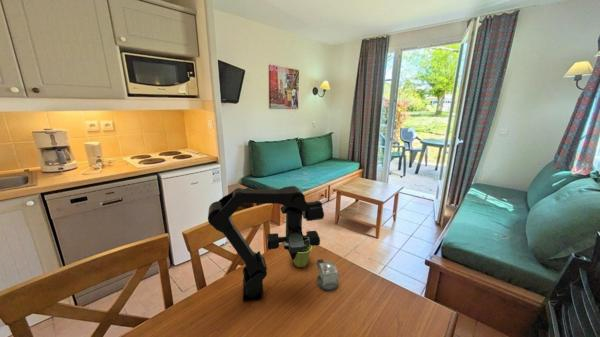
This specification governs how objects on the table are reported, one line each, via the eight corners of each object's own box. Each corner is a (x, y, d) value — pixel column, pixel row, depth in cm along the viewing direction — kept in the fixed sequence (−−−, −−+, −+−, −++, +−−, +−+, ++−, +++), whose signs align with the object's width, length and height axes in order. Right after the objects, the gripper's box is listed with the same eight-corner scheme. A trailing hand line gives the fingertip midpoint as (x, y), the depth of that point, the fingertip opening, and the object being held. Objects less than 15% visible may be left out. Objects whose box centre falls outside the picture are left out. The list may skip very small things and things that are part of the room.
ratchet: (340, 290, 90) (341, 279, 89) (320, 292, 89) (321, 281, 87) (328, 261, 106) (328, 252, 104) (310, 263, 104) (311, 253, 103)
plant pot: (299, 273, 98) (300, 255, 96) (285, 261, 105) (285, 245, 102) (315, 263, 104) (316, 246, 102) (301, 253, 111) (301, 237, 108)
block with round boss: (322, 285, 90) (323, 270, 87) (318, 274, 95) (319, 260, 93) (337, 284, 91) (338, 268, 89) (332, 273, 96) (333, 258, 94)
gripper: (268, 236, 75) (268, 277, 79) (325, 232, 78) (322, 271, 82) (266, 219, 85) (267, 256, 90) (317, 216, 88) (315, 252, 93)
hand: (292, 259), depth 88 cm, fingers closed
